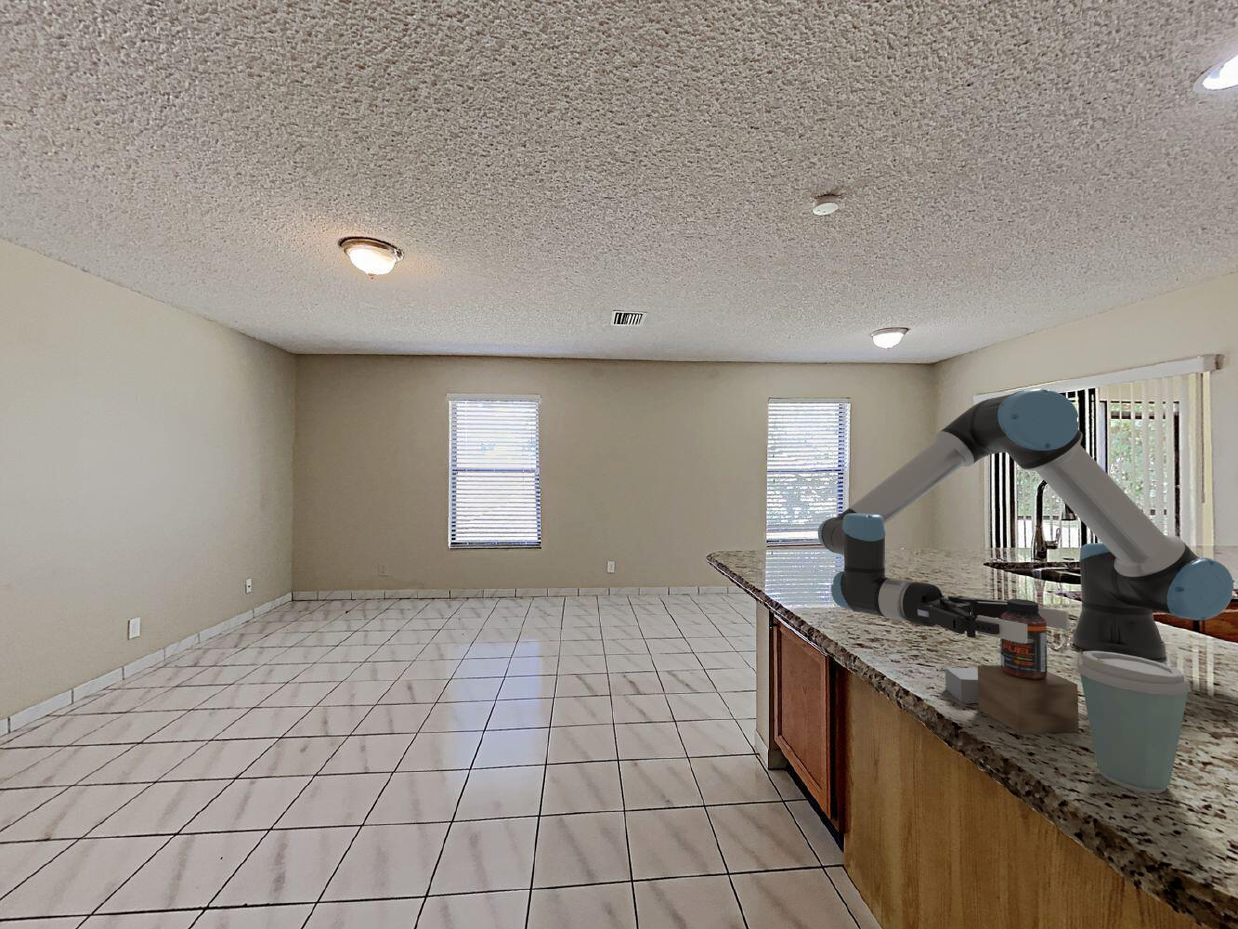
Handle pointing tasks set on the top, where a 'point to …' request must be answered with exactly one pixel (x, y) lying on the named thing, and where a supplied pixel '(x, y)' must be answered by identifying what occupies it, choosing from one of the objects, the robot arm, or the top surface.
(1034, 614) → the supplement bottle
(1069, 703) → the walnut block
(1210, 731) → the top surface
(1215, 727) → the top surface
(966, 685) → the grey block
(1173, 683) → the disposable coffee cup
